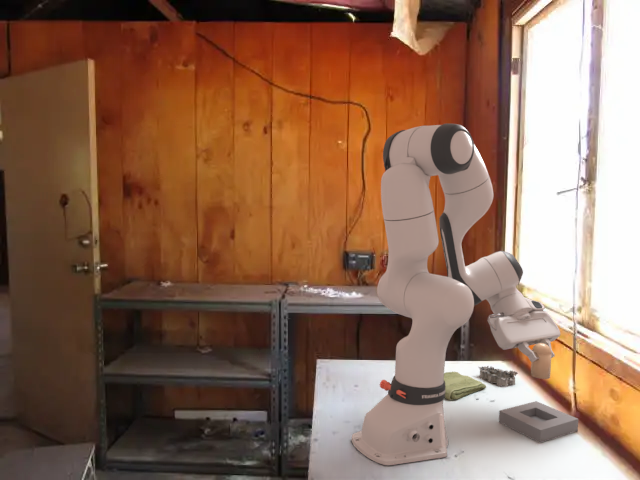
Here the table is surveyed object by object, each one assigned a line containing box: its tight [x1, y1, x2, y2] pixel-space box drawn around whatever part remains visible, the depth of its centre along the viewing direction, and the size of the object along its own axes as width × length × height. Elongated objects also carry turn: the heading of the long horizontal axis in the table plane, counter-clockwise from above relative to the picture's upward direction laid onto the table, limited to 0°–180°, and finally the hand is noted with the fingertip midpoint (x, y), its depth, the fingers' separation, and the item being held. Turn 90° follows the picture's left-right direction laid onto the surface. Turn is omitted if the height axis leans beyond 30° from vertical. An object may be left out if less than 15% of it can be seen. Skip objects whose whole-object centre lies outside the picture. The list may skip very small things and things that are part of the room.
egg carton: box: [478, 365, 519, 388], centre depth 155 cm, size 11×8×4 cm
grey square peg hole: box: [498, 400, 579, 443], centre depth 123 cm, size 14×12×3 cm
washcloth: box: [444, 371, 487, 401], centre depth 147 cm, size 13×18×3 cm
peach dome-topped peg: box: [530, 343, 552, 380], centre depth 122 cm, size 4×4×8 cm
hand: (543, 359), depth 121 cm, fingers closed on peach dome-topped peg, 4 cm apart
